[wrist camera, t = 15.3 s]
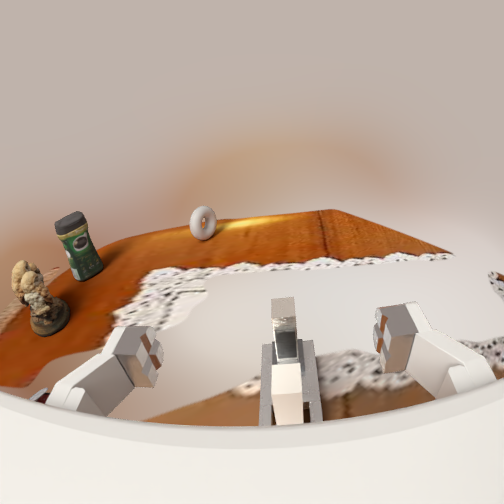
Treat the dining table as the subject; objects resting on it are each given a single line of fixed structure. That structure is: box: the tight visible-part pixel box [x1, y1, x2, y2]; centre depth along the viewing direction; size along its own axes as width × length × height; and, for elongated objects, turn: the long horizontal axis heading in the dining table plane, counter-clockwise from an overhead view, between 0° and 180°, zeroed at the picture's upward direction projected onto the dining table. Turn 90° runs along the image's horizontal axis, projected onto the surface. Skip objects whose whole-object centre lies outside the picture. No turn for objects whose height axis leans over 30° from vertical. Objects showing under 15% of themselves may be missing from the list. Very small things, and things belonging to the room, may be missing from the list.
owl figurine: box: [12, 260, 70, 337], centre depth 61 cm, size 18×12×17 cm, turn 47°
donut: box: [190, 206, 217, 240], centre depth 90 cm, size 10×4×10 cm, turn 147°
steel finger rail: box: [259, 297, 323, 426], centre depth 37 cm, size 20×8×12 cm, turn 177°
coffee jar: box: [55, 211, 103, 281], centre depth 79 cm, size 10×8×19 cm
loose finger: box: [271, 363, 303, 425], centre depth 33 cm, size 5×3×12 cm, turn 177°
